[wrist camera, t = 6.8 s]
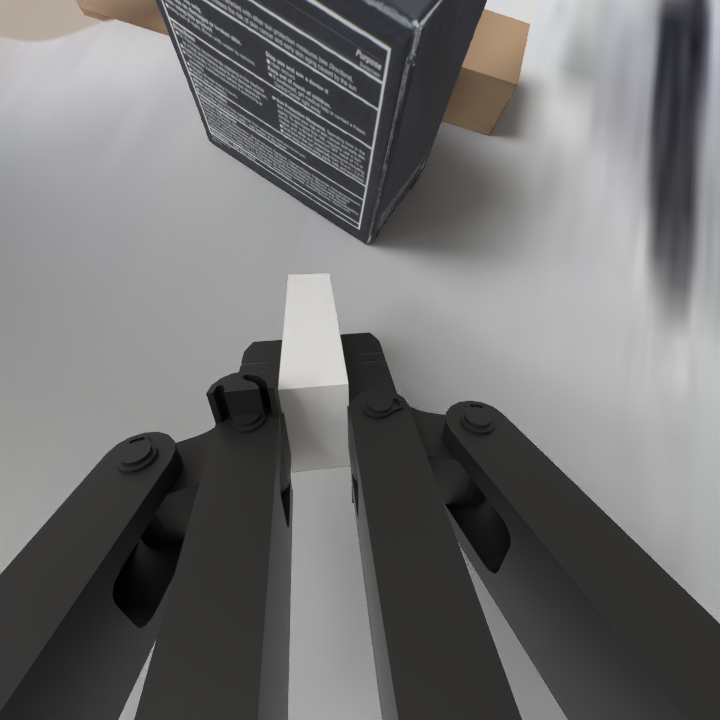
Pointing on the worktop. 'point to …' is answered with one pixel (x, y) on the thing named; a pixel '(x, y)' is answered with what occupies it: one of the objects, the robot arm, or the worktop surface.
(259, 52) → the small box
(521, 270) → the worktop surface
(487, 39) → the long brown wooden bar
